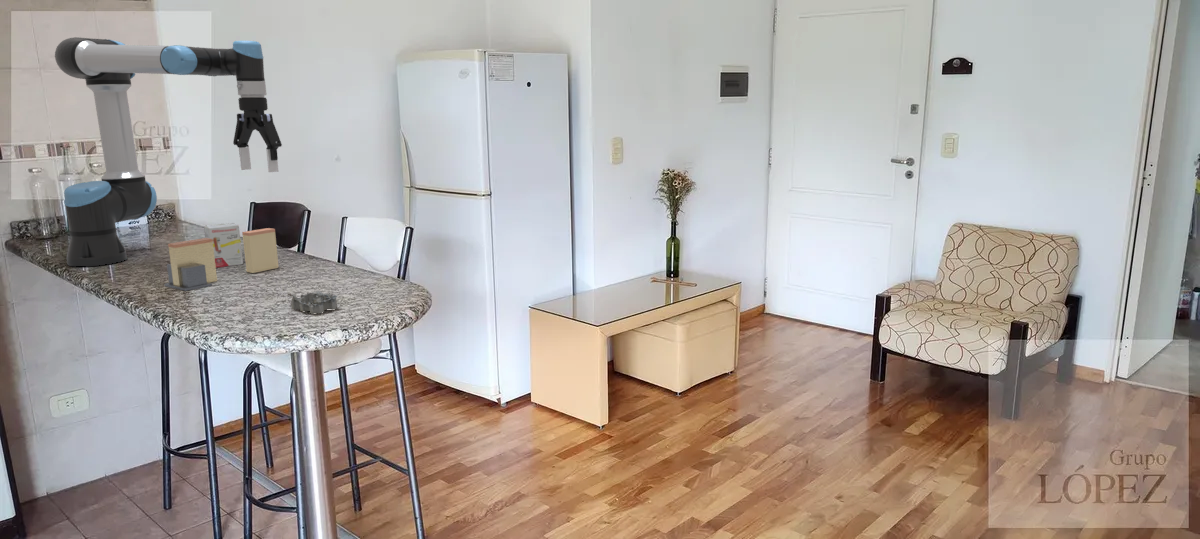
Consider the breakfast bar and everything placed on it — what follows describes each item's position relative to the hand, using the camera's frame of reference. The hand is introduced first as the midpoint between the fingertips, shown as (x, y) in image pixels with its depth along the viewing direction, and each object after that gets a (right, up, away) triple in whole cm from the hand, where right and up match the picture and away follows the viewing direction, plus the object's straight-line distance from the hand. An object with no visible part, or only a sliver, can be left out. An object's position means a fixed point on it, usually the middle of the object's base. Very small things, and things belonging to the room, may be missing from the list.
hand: (259, 170), depth 230 cm
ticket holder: (-6, -33, -25) cm, 42 cm away
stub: (+5, -29, -10) cm, 31 cm away
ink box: (-9, -28, -2) cm, 29 cm away
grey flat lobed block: (+34, -38, -49) cm, 71 cm away
